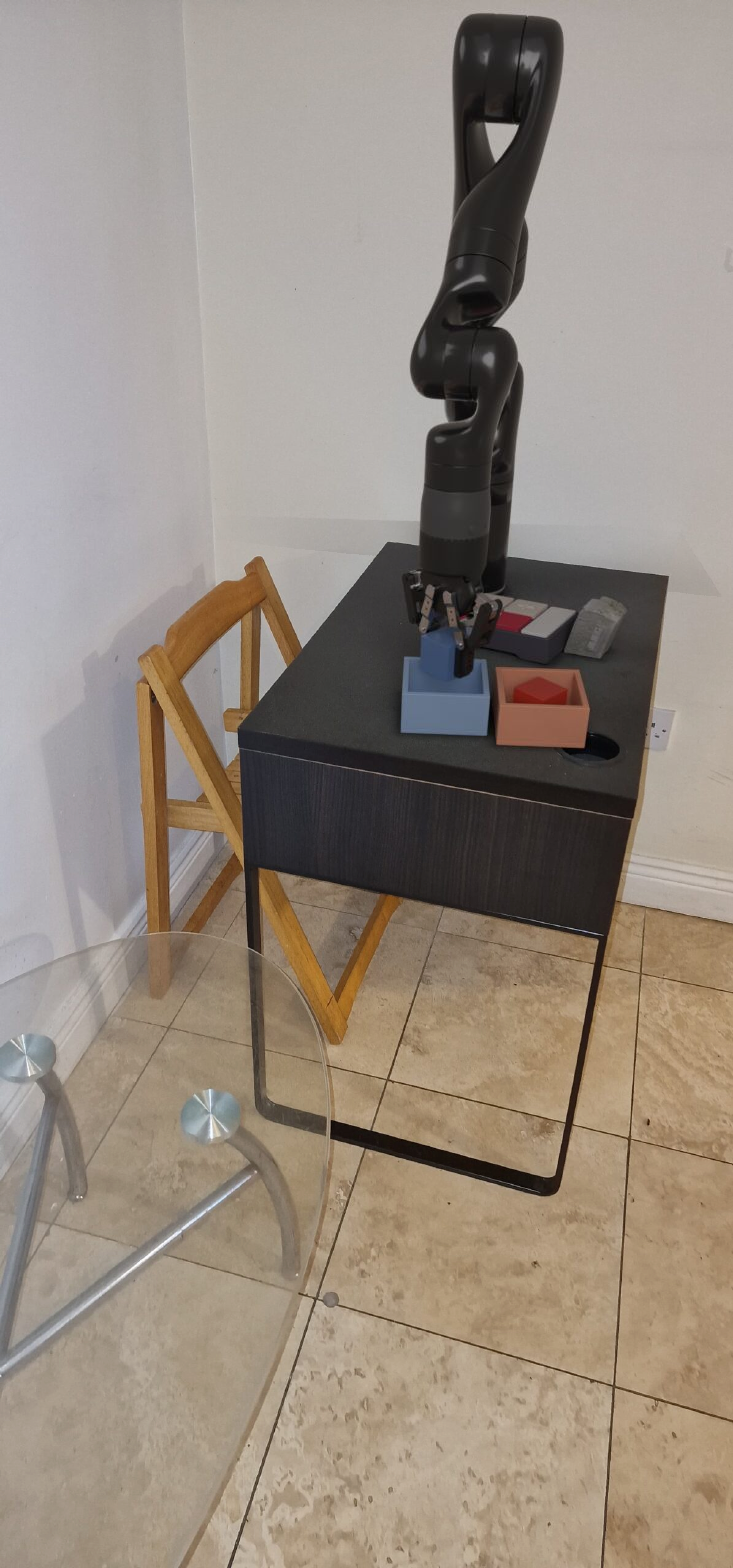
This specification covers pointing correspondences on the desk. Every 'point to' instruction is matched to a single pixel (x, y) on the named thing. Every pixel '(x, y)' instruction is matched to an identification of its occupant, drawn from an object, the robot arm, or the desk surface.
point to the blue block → (438, 653)
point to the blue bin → (445, 701)
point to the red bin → (540, 710)
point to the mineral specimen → (595, 627)
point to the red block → (540, 693)
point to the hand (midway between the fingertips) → (446, 668)
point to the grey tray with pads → (531, 629)
